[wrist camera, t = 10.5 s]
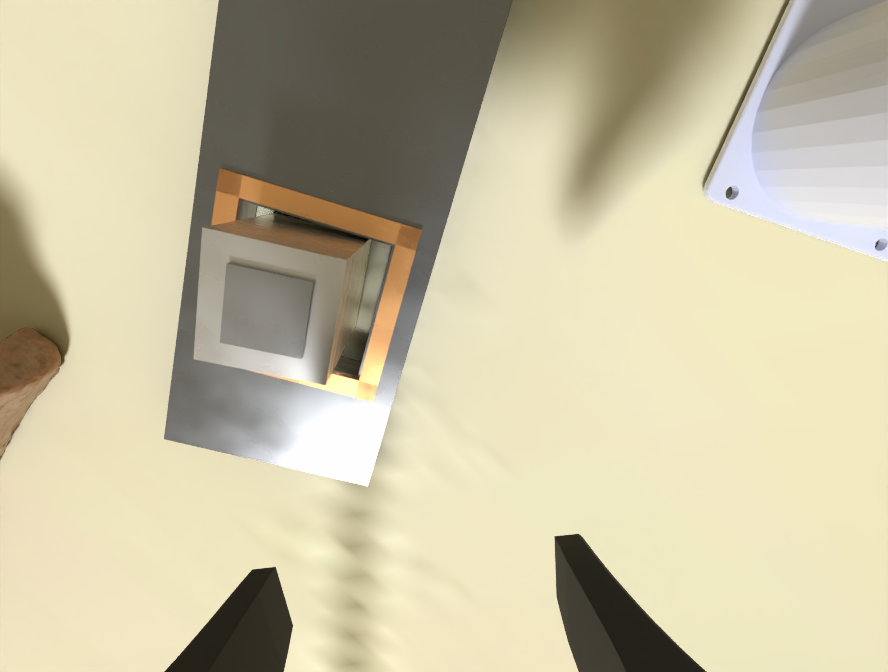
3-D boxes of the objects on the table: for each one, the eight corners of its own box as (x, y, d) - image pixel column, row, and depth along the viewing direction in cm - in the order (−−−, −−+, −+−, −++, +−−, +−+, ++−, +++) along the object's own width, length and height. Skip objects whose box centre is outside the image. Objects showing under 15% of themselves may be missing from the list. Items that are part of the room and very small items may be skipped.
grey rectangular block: (372, 236, 18) (345, 261, 13) (355, 327, 20) (324, 388, 14) (273, 213, 18) (198, 228, 12) (262, 307, 19) (190, 361, 13)
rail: (625, -391, 13) (653, -472, 11) (371, 466, 22) (367, 488, 20) (315, -550, 12) (297, -664, 10) (182, 421, 21) (161, 441, 19)
